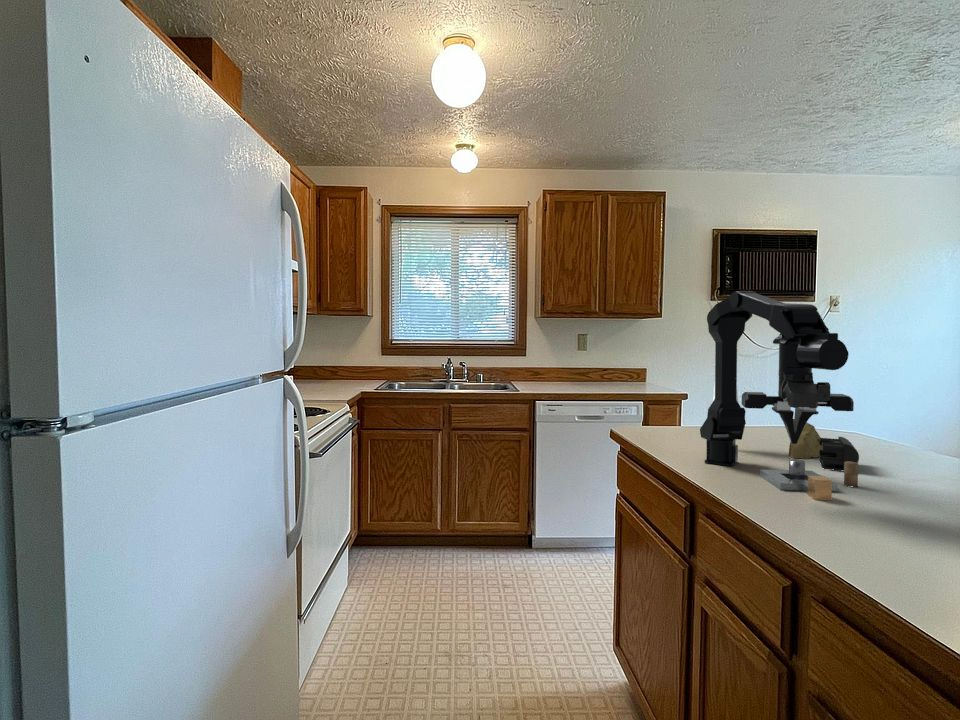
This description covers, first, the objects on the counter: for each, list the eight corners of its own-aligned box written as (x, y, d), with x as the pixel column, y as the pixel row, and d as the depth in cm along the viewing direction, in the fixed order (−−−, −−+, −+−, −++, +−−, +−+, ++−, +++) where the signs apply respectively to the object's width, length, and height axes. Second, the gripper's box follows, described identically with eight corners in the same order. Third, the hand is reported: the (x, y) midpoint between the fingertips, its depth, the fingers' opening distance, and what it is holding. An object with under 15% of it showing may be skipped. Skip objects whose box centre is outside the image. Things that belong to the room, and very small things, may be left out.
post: (787, 483, 113) (788, 461, 113) (789, 480, 115) (790, 458, 115) (803, 486, 111) (804, 463, 111) (805, 482, 113) (805, 460, 113)
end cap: (859, 473, 120) (859, 445, 120) (822, 470, 124) (823, 442, 123) (852, 463, 129) (853, 437, 129) (819, 460, 133) (819, 434, 132)
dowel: (843, 486, 111) (844, 463, 110) (844, 483, 112) (844, 460, 112) (857, 488, 109) (857, 464, 109) (858, 485, 111) (858, 462, 111)
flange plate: (760, 475, 119) (760, 458, 119) (811, 477, 118) (811, 459, 117) (793, 499, 103) (793, 479, 102) (853, 501, 101) (854, 480, 101)
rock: (827, 444, 141) (785, 436, 145) (835, 423, 135) (792, 416, 139) (829, 475, 134) (785, 466, 138) (838, 454, 128) (792, 446, 132)
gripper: (749, 369, 99) (748, 449, 100) (865, 370, 93) (863, 455, 94) (741, 365, 110) (740, 438, 110) (844, 366, 103) (843, 442, 104)
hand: (793, 443), depth 104 cm, fingers closed
